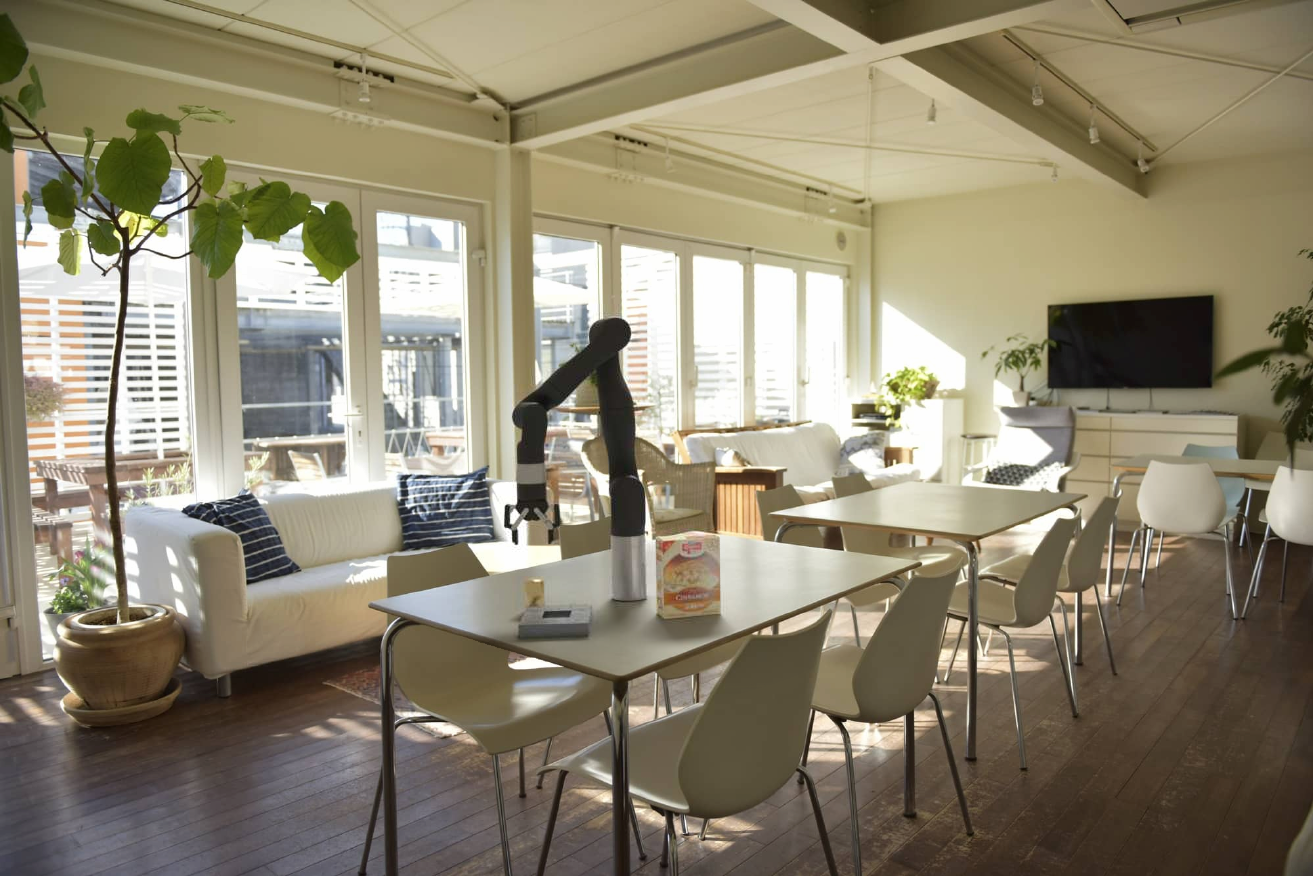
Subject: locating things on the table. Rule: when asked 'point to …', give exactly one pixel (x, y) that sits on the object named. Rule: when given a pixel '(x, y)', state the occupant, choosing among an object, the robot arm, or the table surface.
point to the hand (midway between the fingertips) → (533, 544)
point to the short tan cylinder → (534, 592)
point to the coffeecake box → (688, 575)
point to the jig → (556, 621)
